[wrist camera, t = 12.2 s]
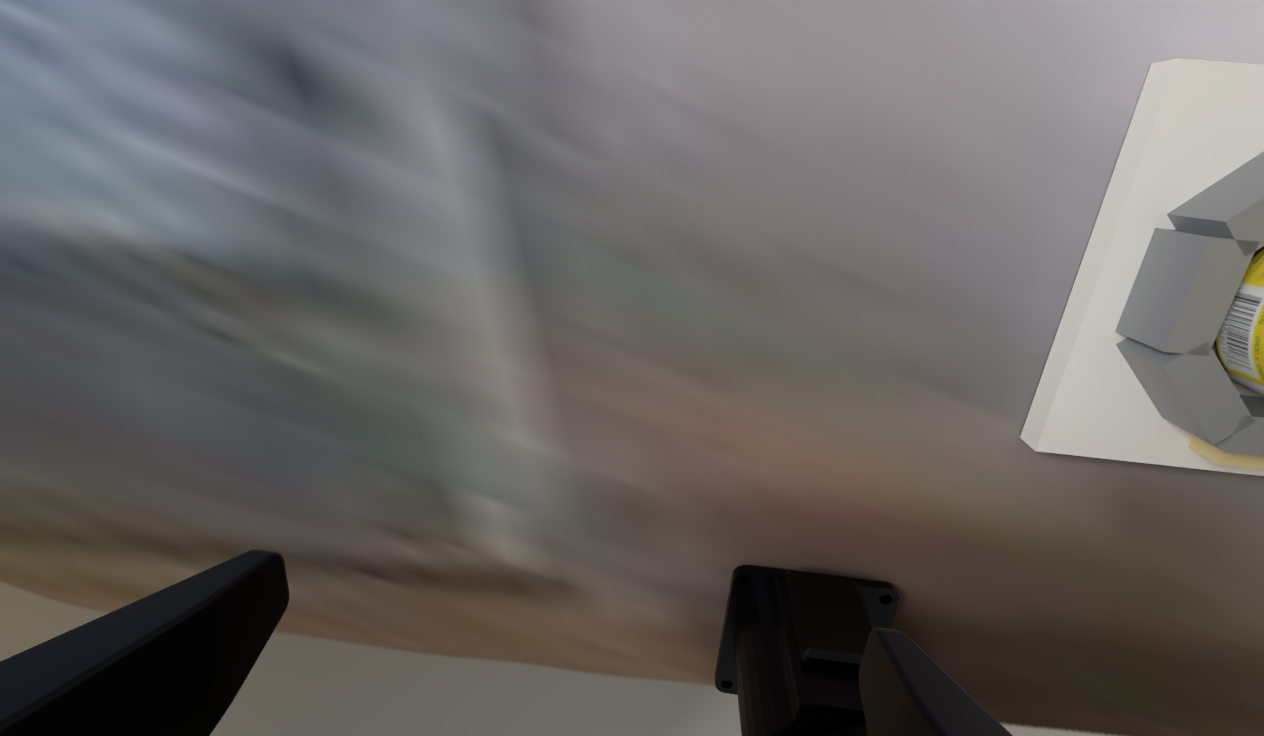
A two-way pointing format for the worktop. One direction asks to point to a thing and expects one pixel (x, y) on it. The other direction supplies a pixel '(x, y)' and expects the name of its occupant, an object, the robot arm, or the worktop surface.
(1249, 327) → the supplement bottle
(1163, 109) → the socket base
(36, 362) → the worktop surface
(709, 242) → the worktop surface
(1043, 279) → the worktop surface
